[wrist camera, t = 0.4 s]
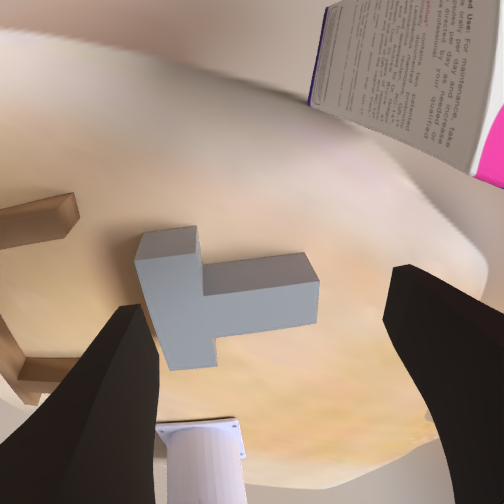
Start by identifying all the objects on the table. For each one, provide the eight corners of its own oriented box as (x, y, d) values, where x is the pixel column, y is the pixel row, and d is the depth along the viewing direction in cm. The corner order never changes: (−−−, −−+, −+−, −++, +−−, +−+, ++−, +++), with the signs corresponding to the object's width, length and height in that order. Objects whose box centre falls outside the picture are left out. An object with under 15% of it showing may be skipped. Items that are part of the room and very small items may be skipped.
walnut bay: (144, 384, 23) (141, 409, 21) (32, 383, 22) (25, 404, 20) (65, 157, 14) (45, 170, 12) (-61, 199, 13) (-82, 214, 11)
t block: (302, 321, 22) (313, 352, 19) (171, 337, 21) (169, 370, 19) (304, 213, 18) (322, 238, 15) (143, 232, 17) (133, 260, 15)
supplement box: (304, 110, 15) (465, 176, 5) (323, 5, 12) (492, -61, 2) (398, 134, 16) (565, 219, 6) (417, 41, 13) (594, 55, 3)
